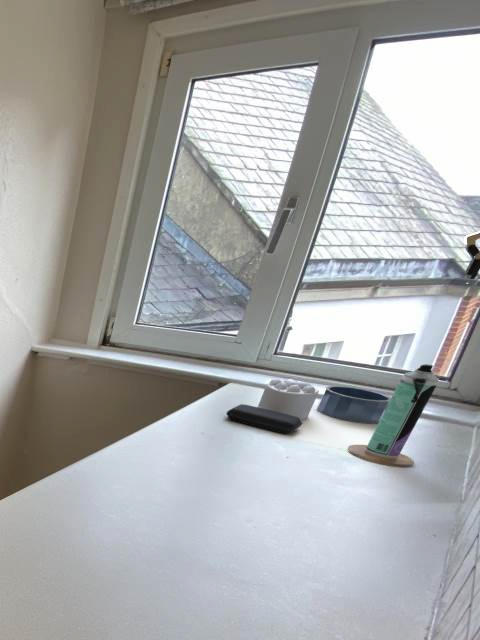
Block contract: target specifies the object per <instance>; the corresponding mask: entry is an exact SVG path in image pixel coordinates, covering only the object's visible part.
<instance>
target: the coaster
mask: <svg viewBox="0 0 480 640" xmlns="http://www.w3.org/2000/svg"><path fill="white" fill-rule="evenodd" d="M367 445H368V444H351V445H349V446H348V447H347V449H348V450H349V451H348V450H347V451H348V453H350V452H351V453H352V454H351V453H350V454H351V455H353V454H354V455H353V456H355V455H357V456H358V457H357V456H356V457H357V458H359V457H361V458H360V459H362V458H363V459H362V460H365V459H366V460H365V461H368V460H369V461H368V462H371V461H372V463H375V464H379V465H383V466H384V465H385V466H390V467H398V468H408V467H409V468H410V467H412V466H413V465H414V464H415V461H414V459H413V458H411V457H409V456H407V455H406V454H403V453H400V454H399V456H398V458H397V459H387V458H381V457H377V456H374V455H371V454H369V453H367V452H366V451H365V450H366V447H367Z"/></svg>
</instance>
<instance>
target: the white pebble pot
mask: <svg viewBox="0 0 480 640" xmlns="http://www.w3.org/2000/svg"><path fill="white" fill-rule="evenodd" d="M319 391H320V390H319V389H318V388H315V387H314V386H313V385H312V384H311V383H309V382H306V381H298V380H295V379H290V378H289V379H285V380H281V379H280V378H273V379H271V380H270V381H269V382H268V383H267V384H266V385H265V388H264V390H263V393H262V395H261V397H260V400H259V403H258V404H257V407H258V408H262V409H267V410H271V411H275V412H279V413H283V414H287V415H292V416H295V417H298V418H300V420H301V421H305V420H306V419H307V418H308V417H309V415H310V413H311V410H312V408H313V406H314V404H315V401H316V399H317V397H318V395H319Z"/></svg>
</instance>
